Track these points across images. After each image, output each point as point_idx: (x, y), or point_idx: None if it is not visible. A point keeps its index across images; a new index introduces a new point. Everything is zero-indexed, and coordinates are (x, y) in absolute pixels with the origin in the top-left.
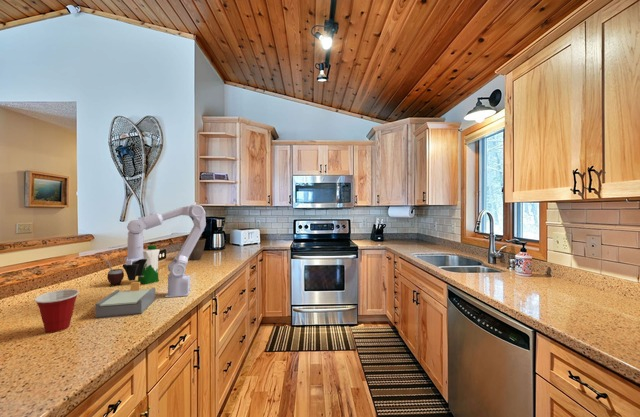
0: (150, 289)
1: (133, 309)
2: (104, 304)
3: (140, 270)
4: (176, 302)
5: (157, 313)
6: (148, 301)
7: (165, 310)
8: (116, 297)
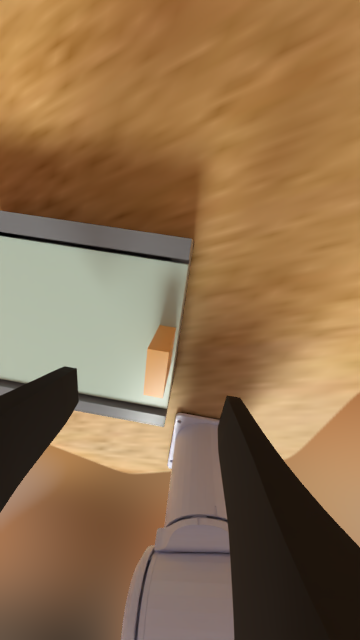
0: (132, 411)
1: None
2: None
3: (229, 480)
4: (113, 437)
5: None
6: None
7: None
8: (52, 277)
